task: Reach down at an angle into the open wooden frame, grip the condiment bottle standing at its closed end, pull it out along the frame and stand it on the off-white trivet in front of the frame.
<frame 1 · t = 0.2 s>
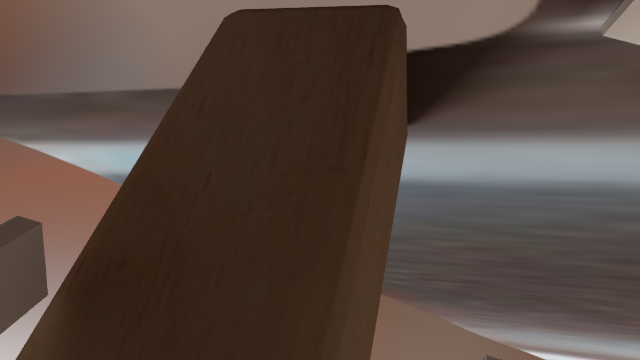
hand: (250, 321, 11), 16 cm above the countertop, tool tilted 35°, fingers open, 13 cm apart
block: (327, 72, 24), on the countertop
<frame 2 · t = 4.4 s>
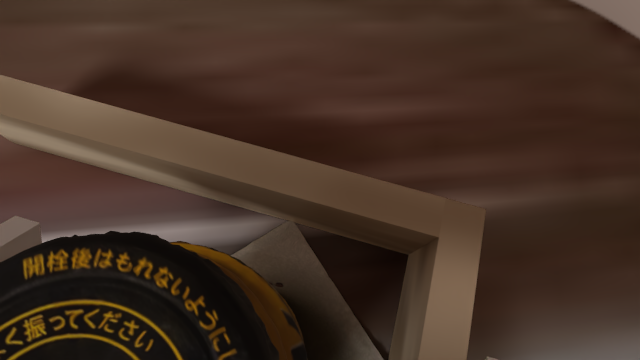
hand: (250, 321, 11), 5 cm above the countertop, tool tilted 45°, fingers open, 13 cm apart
condiment: (251, 346, 16), resting in open wooden frame
open wooden frame: (157, 320, 16), on the countertop
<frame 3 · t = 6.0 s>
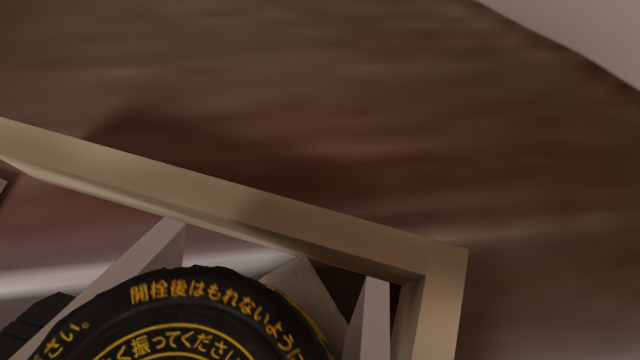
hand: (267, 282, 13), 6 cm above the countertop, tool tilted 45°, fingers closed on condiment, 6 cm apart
open wooden frame: (171, 347, 17), on the countertop
when the fingers open (5 cm above the countertop, at t = 10.1 s): condiment stays where it is, resting on trivet.
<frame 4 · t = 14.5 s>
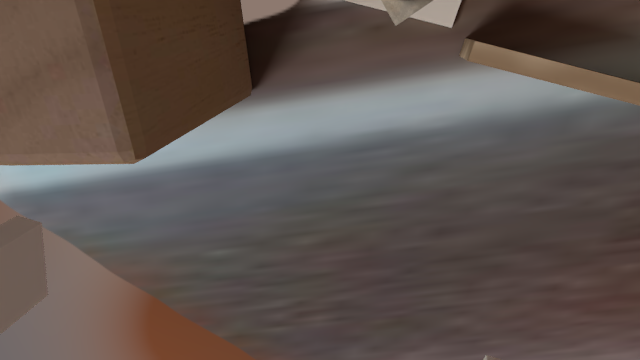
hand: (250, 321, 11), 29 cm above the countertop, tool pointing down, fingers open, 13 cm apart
block: (201, 46, 37), on the countertop
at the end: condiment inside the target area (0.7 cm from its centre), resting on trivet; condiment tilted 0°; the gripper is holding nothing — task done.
